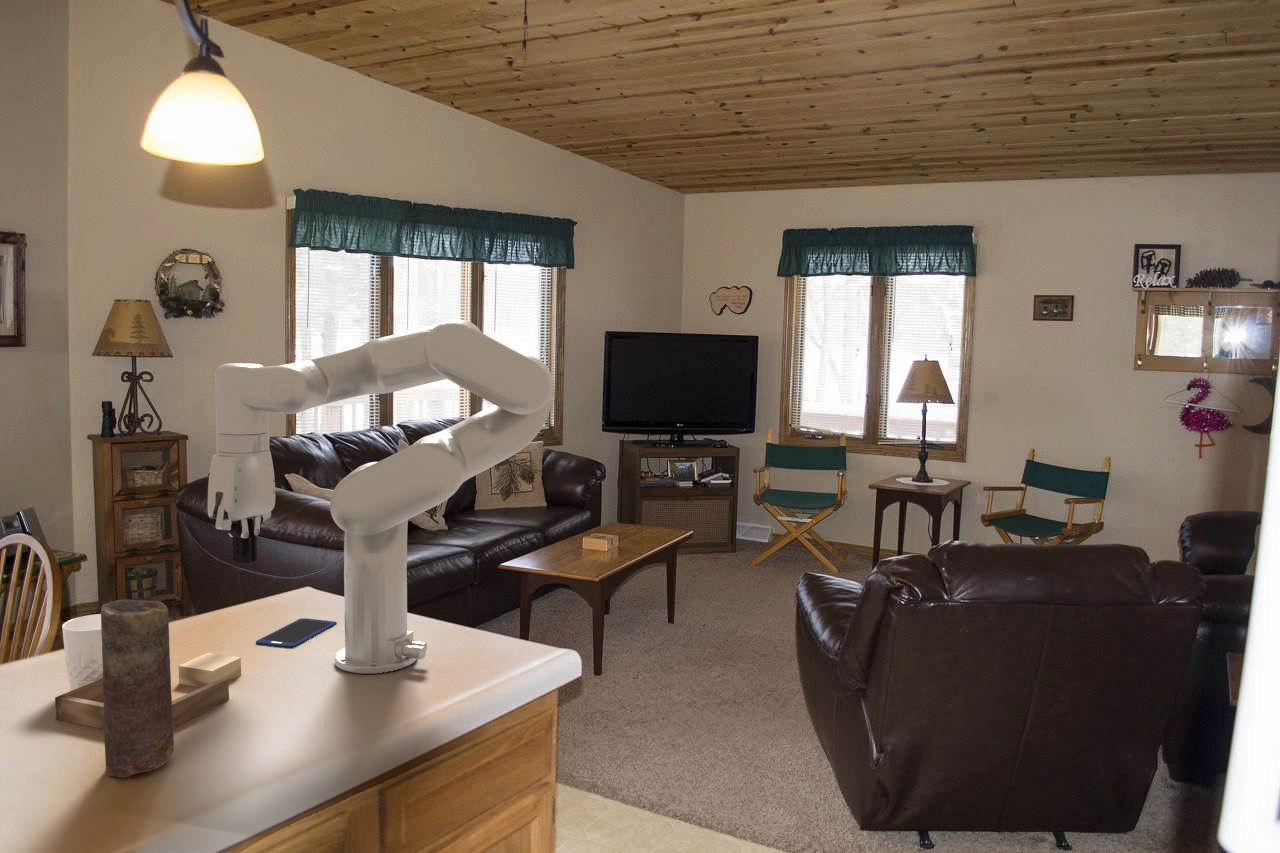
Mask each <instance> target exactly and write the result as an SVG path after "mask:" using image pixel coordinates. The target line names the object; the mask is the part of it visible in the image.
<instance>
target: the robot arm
mask: <svg viewBox="0 0 1280 853" xmlns="http://www.w3.org/2000/svg"><path fill="white" fill-rule="evenodd" d="M214 374H215V376H214V379H215V381H214V385H215V386H214V387H215V431H216V432H215V434H216V435H215V440H216V443H215V444H216V445H215V446H216V454H213V455H212V459H211V462H210V467H209V476H208V483H207V484H208V485H207V515H208V517H209V519H212V520H213V519H215V520H216V521H215V529H216V530H221V531H222V530H223V531H227V532H228V535H229V537H231V538H232V560H233V562H234V563H241V564H250V563H254V562H256V561H257V560H258V558H257V556H258V554H257V553H258V551H257V550H258V548H257V546H258V545H257V536H258V535H259V534H260V532H261V531H260V530H261V526H262V524H263V522H265V521H267V520H268V519H270V518H271V517H272V511H273V510H274V508H275V505H276V482H275V470H274V463H273V457H272V453H271V451H270V439H271V436H270V413H276V414H282V415H296V414H299V413H302V412H304V411H307V410H309V409H313V408H317V407H319V406H323V405H327V404H331V403H335V402H339V401H344V400H347V399H351V398H356V397H359V396H361V397H362V396H364V395H371V394H375V395H376V394H378V395H383V394H391V393H395V392H399V391H402V390H406V389H411V388H415V387H418V386H422V385H427V384H431V383H435V382H439V381H443V380H448V381H450V382H452V383H454V384H455V385H456V386H459V387H461V388H463V389H465V390H466V391H468V392H470V393H472V394H474V395H476V396H477V397H479V398H482V399H483V400H485V401H487V402H489V403H491V404H490V405H489V406H488V407H486V408H484V409H483V410H481V411H479V412H476V413H475V414H473V415H471V416H470V417H467V418H466V419H464V420H462V421H460V422H458V423H456V424H454V425H452V426H448V427H447V428H445V429H443V430H439V431H438V432H435V433H432V434H428V435H425V436H423V437H421V438H420V439H419V438H418V440H417V441H415V442H413V444H411V445H409V446H408V447H405V448H404V449H401V450H400V451H397V452H396V453H394V454H392V455H389V456H388V457H386V458H383V459H381V460H379V461H372V462H367V463H365V464H362V465H360V466H358V467H357V468H355V469H354V470H353V471H351V472H350V473H348V474H347V475H346V476H345V477H344V478H342V479H341V480H340V481H339V482H338V483H337V485H336V486H335V487H334V489H333V491H332V494H331V497H330V502H329V510H330V514H331V518H332V520H333V522H334V523H335V524H336V525H337V526H338V528H339V529H341V530H342V531H344V541H343V542H344V543H343V544H344V545H343V549H344V550H343V560H344V561H343V563H344V564H343V565H344V566H343V579H344V580H343V582H344V584H343V585H344V586H343V587H344V591H343V592H344V599H343V600H344V647H343V648H341V649H340V650H338V651H337V652H336V654H335V655H334V664H335V666H336V667H337V668H339V669H341V670H342V671H345V672H349V673H355V674H363V675H364V674H365V675H366V674H381V673H383V672H384V673H388V672H389V671H390V672H394V670H395V671H398V669H399V670H401V669H404V667H405V668H406V667H409V666H411V665H412V664H414V663H415V662H416V661H417V660H424V658H425V657H426V655H427V649H428V644H427V643H426V642H424V641H423V642H422V641H415V640H414V631H413V630H408V582H407V581H408V577H407V576H408V573H407V572H408V568H407V567H408V566H407V565H408V525H409V524H408V523H409V520H410V519H412V518H414V517H416V516H418V515H420V514H422V513H424V512H426V511H429V510H431V509H432V508H435V507H436V506H438V505H440V504H442V503H444V502H445V501H447V500H449V499H450V498H451V497H452V496H453V495H455V493H456V492H457V491H458V490H459V488H460V487H461V486H462V484H463V483H465V482H466V481H469V479H471V478H473V477H475V476H477V475H479V474H481V473H483V472H485V471H487V470H488V469H490V468H493V467H494V466H496V465H498V464H500V463H502V462H504V461H506V460H507V459H509V458H511V457H513V456H514V455H516V454H517V453H519V452H521V451H522V450H524V448H526V447H527V446H529V444H530V443H531V442H532V441H533V440H534V439H535V438H536V437H537V436H538V434H539V433H540V431H541V430H542V428H543V427H544V425H545V423H546V422H547V419H548V417H549V414H550V411H551V407H552V402H553V390H554V388H553V386H554V382H553V375H552V373H551V370H550V369H549V368H548V366H547V365H546V363H544V362H543V361H542V360H541V359H539V358H537V357H534V356H530V355H523V354H521V353H520V352H518V351H516V350H514V349H512V348H510V347H508V346H506V345H504V344H503V343H501V342H500V341H497V340H495V339H493V338H491V337H490V336H488V335H487V334H485V333H483V332H482V331H481V329H480V328H479V327H478V326H477V325H475V324H474V323H473V322H471V321H469V320H466V319H450V320H449V319H448V320H445V321H442V322H440V323H435V324H432V325H428V326H423V327H420V328H417V329H412V330H411V329H410V330H408V331H404V332H400V333H396V334H390V335H387V336H383V337H379V338H375V339H372V340H369V341H368V342H365V343H364V344H362V345H360V346H358V347H355V348H351V349H348V350H344V351H341V352H338V353H333V354H329V355H324V356H321V357H317V358H312V359H309V360H302V361H297V362H292V363H291V362H290V363H286V364H279V365H278V364H277V365H273V366H271V365H270V366H265V365H262V364H259V363H249V362H247V363H246V362H245V363H244V362H243V363H242V362H241V363H240V362H234V363H233V362H231V363H223V364H221V365H219V366H218V367H217V368H216V370H215V373H214ZM390 672H389V673H390ZM384 673H383V674H384Z"/></svg>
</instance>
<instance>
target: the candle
mask: <svg viewBox="0 0 1280 853" xmlns="http://www.w3.org/2000/svg"><path fill="white" fill-rule="evenodd" d="M100 614H101V634H102V664H103V700H104V702H103V703H104V729H103V730H104V735H103V737H104V758H105V759H104V761H105V774H106V775H107V776H110V777H112V778H113V777H117V778H129V777H131V776H132V775H137V774H141V773H145V772H146V773H147V772H148V773H151V772H152V771H154V770H156V769H159V768H160V767H162V766H163V764H165V763H167V762H168V761H169V760H170V758H171V756H172V755H173V754H174V751H175V749H174V748H175V747H174V740H175V739H174V727H173V712H172V701H173V698H172V697H173V696H172V675H171V656H170V655H171V654H170V650H171V649H170V625H169V624H170V622H169V619H170V618H169V607H167V605H166V604H165V603H163V602H162V601H159V600H146V599H145V600H141V599H137V600H136V599H118V600H115V601H114V600H113V601H110V602H107V603H103V604H102V606H101V608H100Z"/></svg>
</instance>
